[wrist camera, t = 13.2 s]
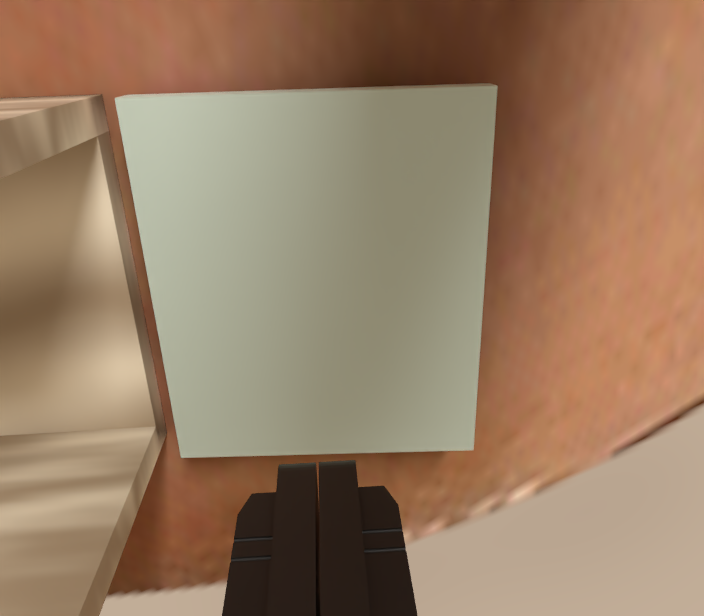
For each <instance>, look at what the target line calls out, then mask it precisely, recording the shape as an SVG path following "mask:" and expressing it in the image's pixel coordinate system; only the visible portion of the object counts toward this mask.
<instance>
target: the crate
mask: <svg viewBox="0 0 704 616" xmlns="http://www.w3.org/2000/svg"><path fill="white" fill-rule="evenodd" d="M166 434H167V430H166V425H165V420H164V415H163V410H162V404H161V399H160V394H159V389H158V384H157V378H156V373H155V368H154V363H153V358H152V352H151V347H150V342H149V337H148V332H147V326H146V321H145V316H144V311H143V306H142V300H141V295H140V290H139V285H138V280H137V274H136V269H135V264H134V259H133V254H132V248H131V243H130V238H129V233H128V228H127V222H126V217H125V212H124V207H123V201H122V196H121V191H120V186H119V181H118V175H117V170H116V165H115V160H114V155H113V149H112V144H111V139H110V134H109V129H108V123H107V118H106V113H105V108H104V103H103V97H102V94H101V95H74V96H46V97H19V98H0V616H99V614H100V611H101V609H102V606H103V603H104V601H105V598H106V595H107V593H108V590H109V587H110V585H111V582H112V579H113V577H114V574H115V571H116V569H117V566H118V563H119V561H120V558H121V555H122V552H123V550H124V547H125V544H126V542H127V539H128V536H129V534H130V531H131V528H132V526H133V523H134V520H135V518H136V515H137V512H138V510H139V507H140V504H141V501H142V499H143V496H144V493H145V491H146V488H147V485H148V483H149V480H150V477H151V475H152V472H153V469H154V467H155V464H156V461H157V459H158V456H159V453H160V450H161V448H162V445H163V442H164V440H165V437H166Z"/></svg>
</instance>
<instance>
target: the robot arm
mask: <svg viewBox="0 0 704 616" xmlns="http://www.w3.org/2000/svg"><path fill="white" fill-rule="evenodd" d="M222 616H417V610H416V605H415V599H414V593H413V587H412V582H411V576H410V570H409V565H408V559H407V553H406V550H405V542H404V536H403V532H402V524H401V519H400V513H399V507H398V504H397V503H396V501H395V500H394V499H393V497H392V496H391V495H390V493H389V492H388V491H387V489H386V488H385V487H384V486H372V487H358V482H357V471H356V462H355V460H350V461H332V462H319V501H318V485H317V469H316V463H300V464H282V465H279V467H278V478H277V490H276V492H273V493H256V494H251V496H250V497H249V499H248V500H247V502H246V503H245V505H244V506H243V508H242V509H241V511H240V512H239V514H238V517H237V523H236V530H235V536H234V543H233V549H232V555H231V563H230V568H229V574H228V581H227V587H226V594H225V600H224V607H223V613H222Z"/></svg>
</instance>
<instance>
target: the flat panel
mask: <svg viewBox="0 0 704 616" xmlns="http://www.w3.org/2000/svg"><path fill="white" fill-rule="evenodd" d="M497 88H498V86H497V85H494V84H491V83H476V84H445V85H414V86H384V87H353V88H322V89H291V90H261V91H230V92H199V93H168V94H137V95H125V96H121V97H117V98H115V103H116V108H117V114H118V119H119V124H120V130H121V135H122V141H123V146H124V152H125V157H126V162H127V168H128V173H129V179H130V184H131V190H132V195H133V200H134V206H135V211H136V217H137V222H138V228H139V233H140V238H141V244H142V249H143V255H144V260H145V266H146V271H147V276H148V282H149V287H150V293H151V298H152V304H153V309H154V314H155V320H156V325H157V331H158V336H159V341H160V347H161V352H162V358H163V363H164V369H165V374H166V379H167V385H168V390H169V396H170V401H171V407H172V412H173V417H174V423H175V428H176V434H177V439H178V445H179V450H180V455H181V458H197V457H235V456H273V455H311V454H349V453H388V452H426V451H464V450H474V435H475V420H476V405H477V390H478V375H479V360H480V345H481V329H482V314H483V299H484V284H485V269H486V254H487V239H488V224H489V209H490V193H491V178H492V163H493V148H494V133H495V118H496V103H497Z"/></svg>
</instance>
